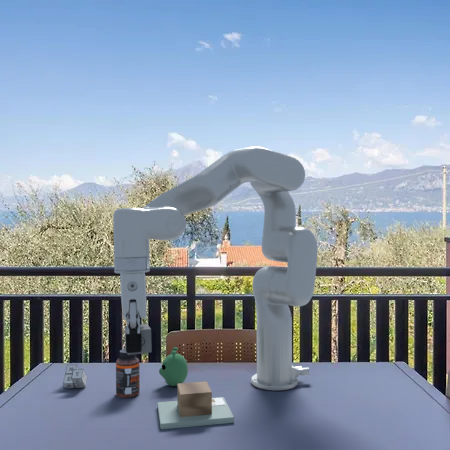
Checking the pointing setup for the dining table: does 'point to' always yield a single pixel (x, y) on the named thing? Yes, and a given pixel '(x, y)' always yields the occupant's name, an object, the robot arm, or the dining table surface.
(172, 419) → the build board
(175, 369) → the alien toy
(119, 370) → the supplement bottle
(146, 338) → the dice cube
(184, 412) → the base brick
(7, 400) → the dining table surface
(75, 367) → the building blocks
